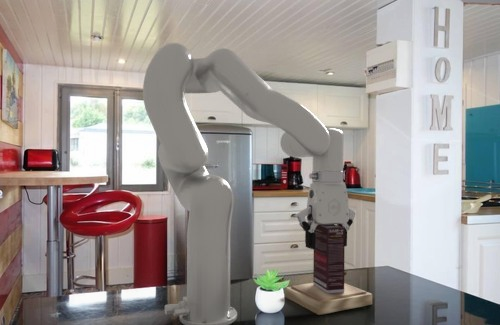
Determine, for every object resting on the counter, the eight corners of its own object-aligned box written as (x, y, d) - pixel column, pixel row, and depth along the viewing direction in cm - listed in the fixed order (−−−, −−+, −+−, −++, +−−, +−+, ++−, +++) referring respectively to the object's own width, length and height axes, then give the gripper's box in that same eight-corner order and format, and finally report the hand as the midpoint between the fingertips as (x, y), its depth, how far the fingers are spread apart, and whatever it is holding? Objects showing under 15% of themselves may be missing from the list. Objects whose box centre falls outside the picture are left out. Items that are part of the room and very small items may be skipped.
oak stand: (318, 314, 92) (318, 301, 92) (285, 297, 104) (285, 285, 104) (372, 304, 99) (372, 291, 99) (335, 288, 111) (335, 277, 112)
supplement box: (345, 292, 98) (345, 227, 98) (327, 294, 97) (327, 227, 97) (329, 283, 107) (329, 222, 107) (312, 284, 105) (312, 222, 105)
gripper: (307, 178, 95) (306, 252, 94) (364, 179, 102) (363, 247, 102) (290, 177, 101) (288, 246, 101) (344, 178, 109) (343, 242, 109)
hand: (326, 246), depth 102 cm, fingers open, 9 cm apart
